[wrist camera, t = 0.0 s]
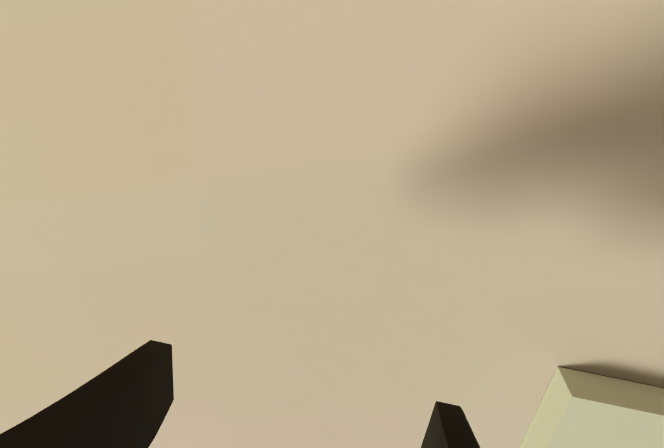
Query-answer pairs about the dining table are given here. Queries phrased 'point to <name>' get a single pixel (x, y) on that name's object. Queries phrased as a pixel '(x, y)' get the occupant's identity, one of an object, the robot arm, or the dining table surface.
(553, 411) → the outlet board
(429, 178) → the dining table surface
